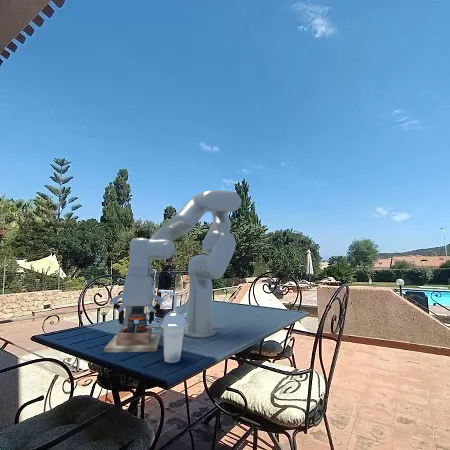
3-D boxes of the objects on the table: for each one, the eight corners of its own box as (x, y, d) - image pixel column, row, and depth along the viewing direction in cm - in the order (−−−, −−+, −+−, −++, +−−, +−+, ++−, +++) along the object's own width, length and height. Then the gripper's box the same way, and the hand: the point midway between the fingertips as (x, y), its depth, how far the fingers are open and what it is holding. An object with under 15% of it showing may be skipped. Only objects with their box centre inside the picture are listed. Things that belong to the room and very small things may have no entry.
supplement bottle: (139, 343, 92) (141, 308, 93) (122, 342, 93) (125, 307, 94) (147, 339, 98) (149, 306, 99) (132, 337, 99) (134, 305, 100)
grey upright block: (132, 328, 117) (134, 304, 118) (119, 325, 121) (121, 302, 123) (147, 325, 124) (149, 302, 125) (135, 322, 128) (136, 300, 130)
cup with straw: (176, 367, 76) (179, 292, 78) (149, 361, 79) (153, 290, 82) (192, 357, 83) (194, 289, 86) (167, 353, 87) (170, 288, 90)
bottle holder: (160, 337, 104) (161, 324, 105) (156, 351, 88) (157, 336, 89) (115, 338, 102) (116, 325, 102) (103, 352, 86) (104, 336, 87)
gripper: (164, 273, 103) (162, 320, 101) (116, 272, 101) (112, 321, 98) (163, 274, 96) (160, 325, 94) (111, 273, 93) (106, 326, 91)
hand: (136, 323), depth 96 cm, fingers open, 9 cm apart
